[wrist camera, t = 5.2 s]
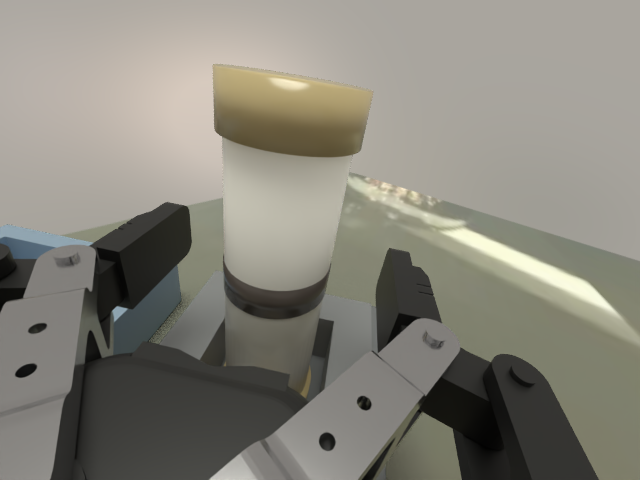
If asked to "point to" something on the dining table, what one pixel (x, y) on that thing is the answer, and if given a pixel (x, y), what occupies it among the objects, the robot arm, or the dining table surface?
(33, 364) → the robot arm
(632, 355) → the dining table surface
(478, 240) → the dining table surface
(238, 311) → the capped white cylinder
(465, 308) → the dining table surface
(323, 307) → the block
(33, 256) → the parts tray
